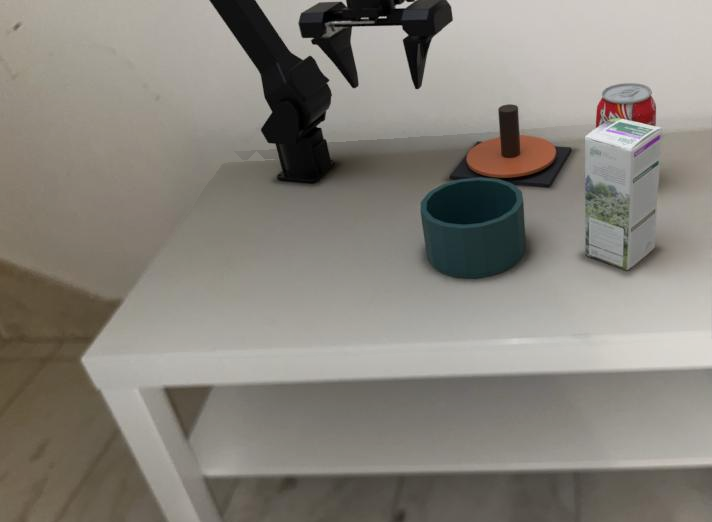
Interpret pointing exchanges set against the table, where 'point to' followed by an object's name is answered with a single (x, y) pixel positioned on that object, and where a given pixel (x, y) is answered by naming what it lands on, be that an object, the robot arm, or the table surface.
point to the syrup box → (621, 191)
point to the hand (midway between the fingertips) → (386, 87)
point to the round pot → (474, 227)
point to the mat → (535, 179)
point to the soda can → (627, 104)
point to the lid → (510, 150)
